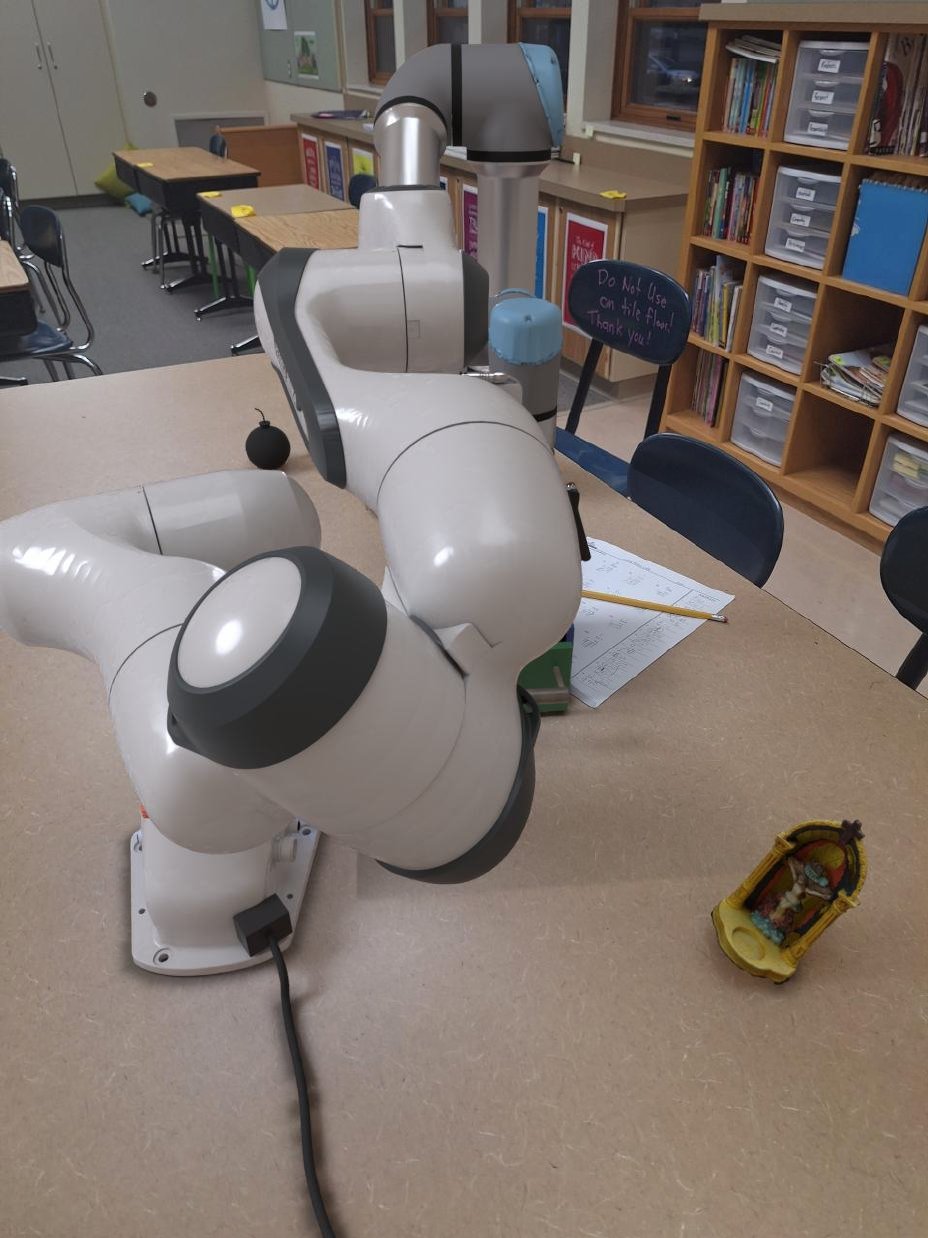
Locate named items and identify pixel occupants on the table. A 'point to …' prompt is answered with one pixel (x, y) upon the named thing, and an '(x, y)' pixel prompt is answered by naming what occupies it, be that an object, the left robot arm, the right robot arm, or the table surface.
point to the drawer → (549, 678)
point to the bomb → (267, 446)
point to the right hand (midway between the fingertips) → (515, 608)
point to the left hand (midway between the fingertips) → (418, 505)
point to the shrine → (792, 897)
